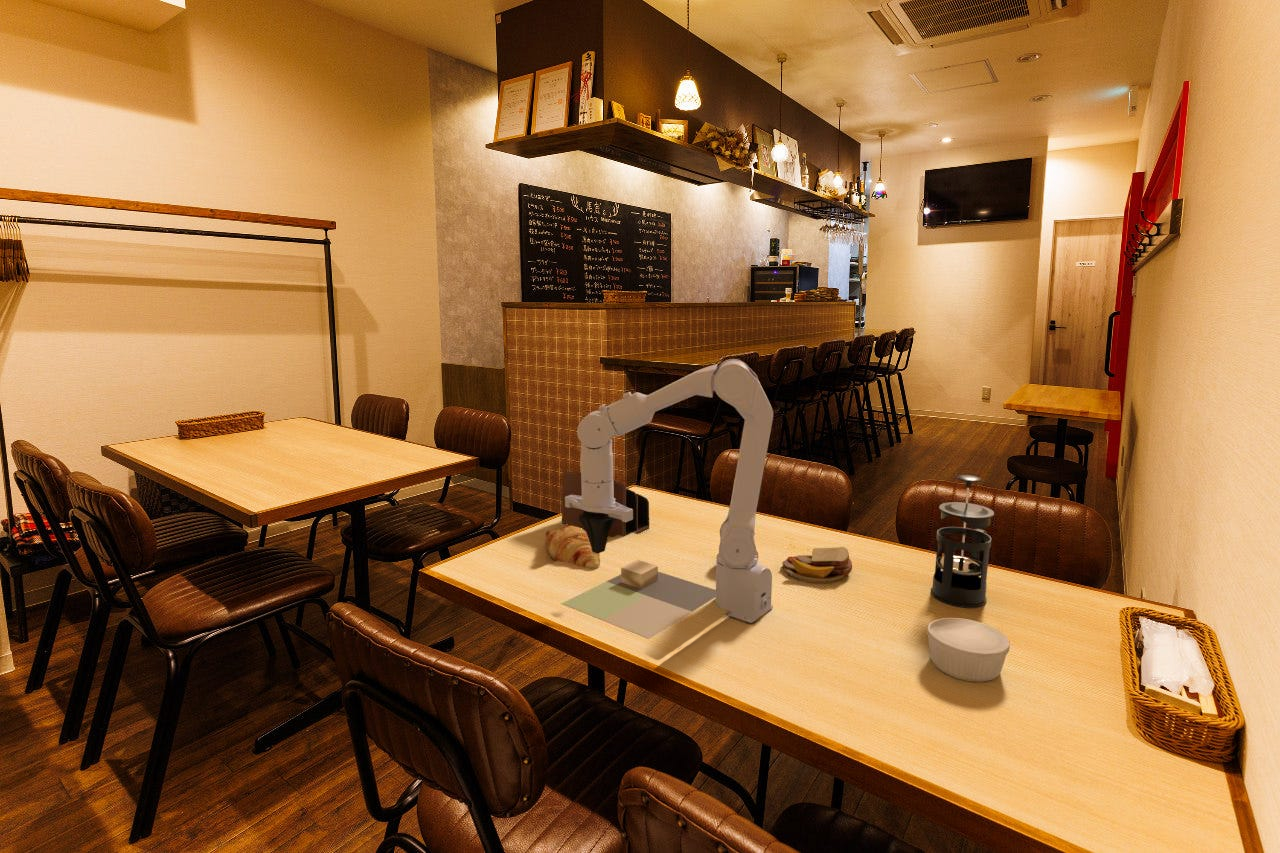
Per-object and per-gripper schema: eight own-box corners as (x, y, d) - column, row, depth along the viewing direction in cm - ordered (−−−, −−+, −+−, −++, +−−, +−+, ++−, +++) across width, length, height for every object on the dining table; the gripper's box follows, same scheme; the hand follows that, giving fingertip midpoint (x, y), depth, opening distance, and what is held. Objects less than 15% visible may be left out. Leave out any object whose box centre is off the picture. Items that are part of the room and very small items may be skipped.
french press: (966, 614, 118) (979, 487, 113) (918, 594, 125) (927, 475, 121) (1001, 596, 124) (1014, 476, 120) (953, 579, 132) (963, 466, 127)
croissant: (609, 586, 138) (624, 550, 139) (571, 575, 132) (587, 537, 132) (558, 553, 155) (572, 520, 155) (523, 541, 149) (537, 508, 149)
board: (722, 597, 125) (722, 592, 124) (649, 644, 108) (649, 638, 108) (639, 570, 137) (639, 565, 137) (561, 608, 120) (561, 603, 120)
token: (657, 580, 129) (657, 566, 129) (641, 589, 126) (641, 574, 125) (637, 574, 133) (637, 559, 132) (621, 582, 129) (621, 567, 128)
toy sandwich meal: (790, 556, 144) (791, 535, 143) (855, 567, 139) (856, 545, 138) (775, 578, 133) (776, 556, 132) (845, 591, 128) (847, 567, 127)
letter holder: (624, 541, 153) (623, 482, 151) (561, 524, 165) (559, 468, 162) (650, 529, 161) (650, 472, 158) (588, 513, 173) (587, 460, 170)
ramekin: (936, 639, 109) (939, 609, 108) (1013, 663, 102) (1017, 631, 101) (914, 669, 101) (917, 636, 100) (996, 696, 94) (1000, 662, 93)
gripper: (643, 480, 118) (643, 553, 121) (582, 468, 127) (584, 536, 130) (617, 489, 113) (618, 566, 115) (556, 476, 121) (558, 547, 124)
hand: (598, 551), depth 122 cm, fingers closed
